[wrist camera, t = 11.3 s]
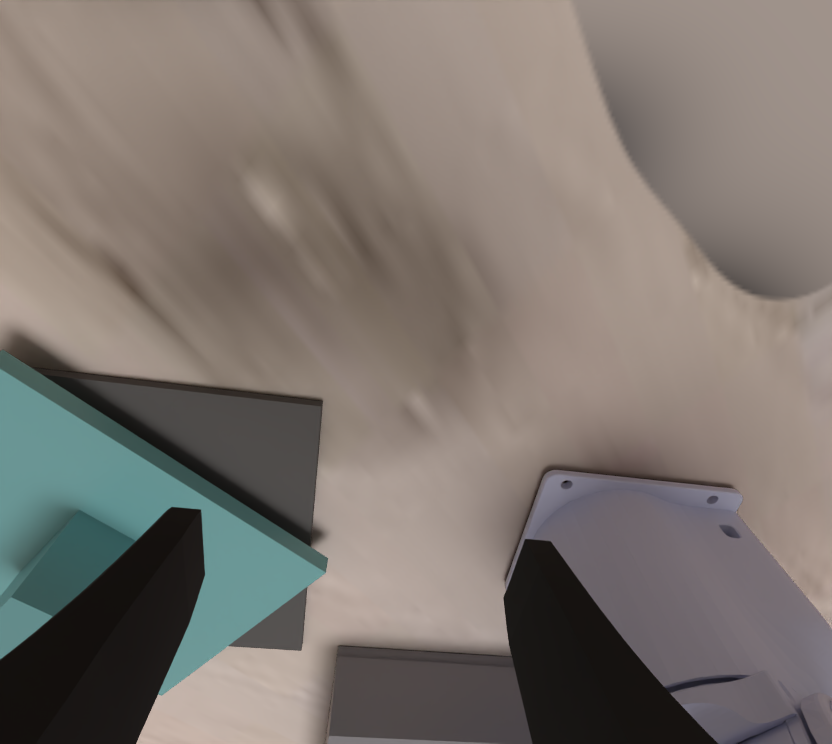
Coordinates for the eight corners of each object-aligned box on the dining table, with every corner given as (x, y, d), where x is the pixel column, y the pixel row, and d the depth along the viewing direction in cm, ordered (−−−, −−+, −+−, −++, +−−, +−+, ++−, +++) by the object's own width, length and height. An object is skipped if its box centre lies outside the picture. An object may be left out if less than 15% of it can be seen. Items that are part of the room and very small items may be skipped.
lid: (329, 544, 23) (312, 661, 19) (173, 665, 27) (124, 788, 22) (18, 340, 18) (-125, 428, 13) (-121, 527, 22) (-270, 650, 17)
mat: (322, 401, 20) (321, 406, 20) (302, 643, 28) (301, 650, 27) (-169, 344, 18) (-181, 349, 18) (-49, 621, 26) (-55, 628, 25)
